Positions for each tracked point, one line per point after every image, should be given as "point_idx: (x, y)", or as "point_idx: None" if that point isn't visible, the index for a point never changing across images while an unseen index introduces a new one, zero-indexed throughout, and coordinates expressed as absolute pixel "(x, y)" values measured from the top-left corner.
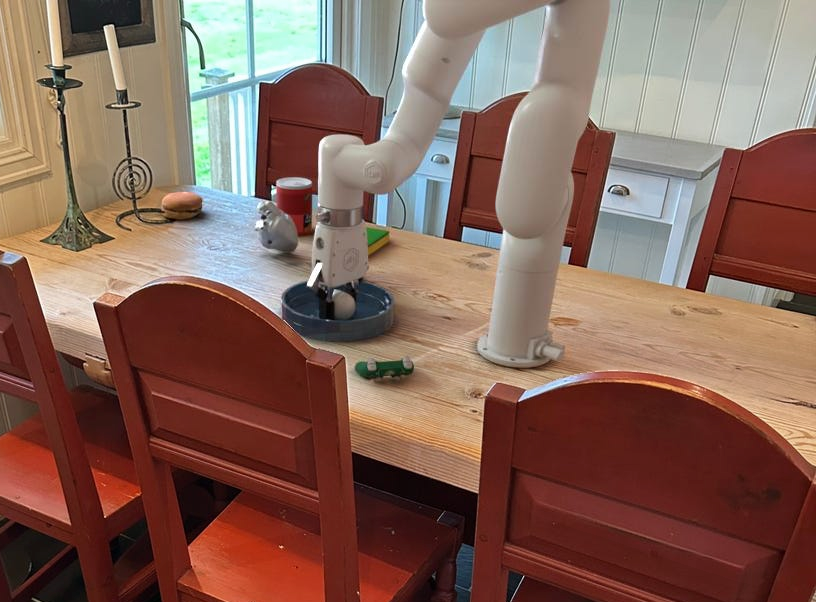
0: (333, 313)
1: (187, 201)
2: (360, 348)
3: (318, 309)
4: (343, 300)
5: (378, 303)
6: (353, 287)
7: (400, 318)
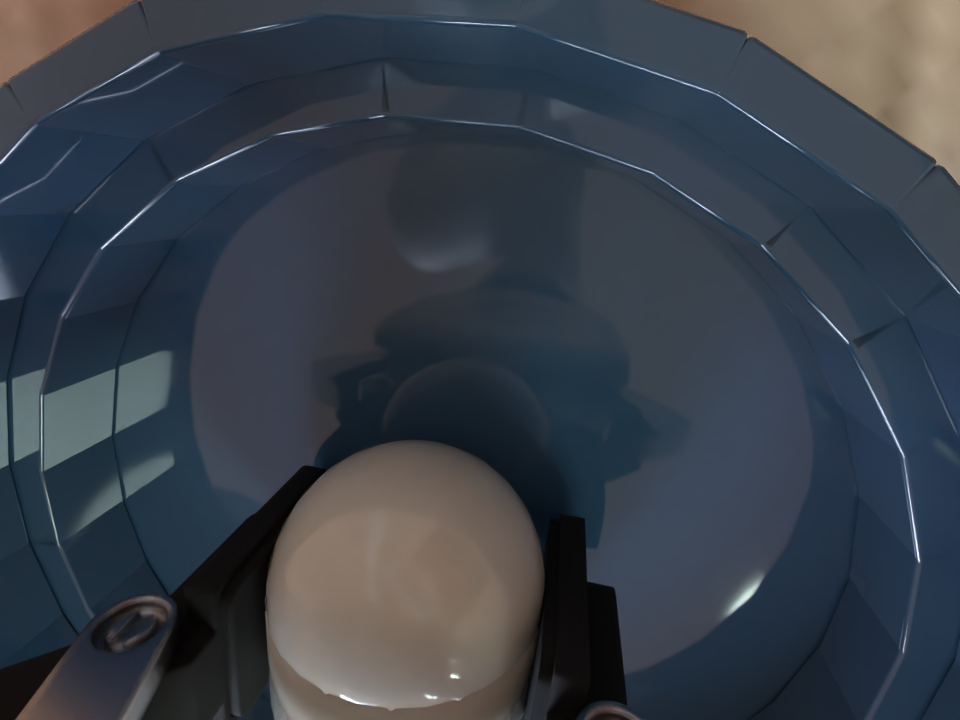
0: (563, 566)
1: None
2: (855, 18)
3: None
4: (446, 608)
5: (73, 403)
6: (157, 671)
7: None
